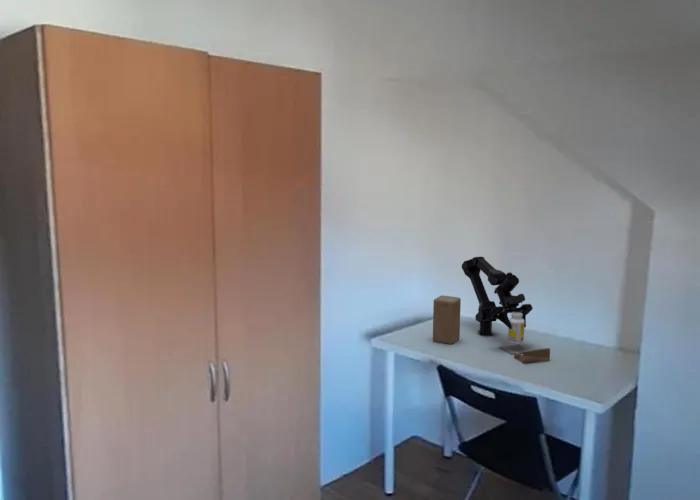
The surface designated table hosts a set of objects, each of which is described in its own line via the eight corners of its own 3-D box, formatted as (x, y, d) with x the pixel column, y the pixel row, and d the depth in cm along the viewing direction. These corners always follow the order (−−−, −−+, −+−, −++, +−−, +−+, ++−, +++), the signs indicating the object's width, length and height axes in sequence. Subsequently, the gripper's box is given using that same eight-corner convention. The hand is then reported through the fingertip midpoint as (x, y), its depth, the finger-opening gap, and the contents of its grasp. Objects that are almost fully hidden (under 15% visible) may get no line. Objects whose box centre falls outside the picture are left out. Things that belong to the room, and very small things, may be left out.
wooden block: (452, 345, 270) (453, 301, 266) (431, 341, 275) (432, 299, 271) (460, 339, 278) (461, 297, 275) (439, 335, 283) (440, 294, 280)
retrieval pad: (499, 347, 266) (499, 346, 266) (518, 345, 269) (518, 344, 269) (511, 354, 257) (511, 353, 256) (532, 352, 260) (532, 351, 259)
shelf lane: (514, 357, 253) (514, 346, 252) (539, 354, 257) (539, 343, 256) (523, 363, 246) (524, 351, 245) (549, 360, 250) (550, 348, 249)
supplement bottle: (521, 339, 266) (522, 311, 263) (525, 344, 259) (526, 315, 257) (506, 339, 266) (507, 311, 263) (509, 343, 259) (511, 315, 257)
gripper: (494, 289, 259) (507, 320, 251) (531, 286, 265) (545, 317, 256) (484, 302, 268) (496, 333, 260) (520, 299, 273) (533, 329, 265)
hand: (518, 327), depth 260 cm, fingers closed on supplement bottle, 7 cm apart
